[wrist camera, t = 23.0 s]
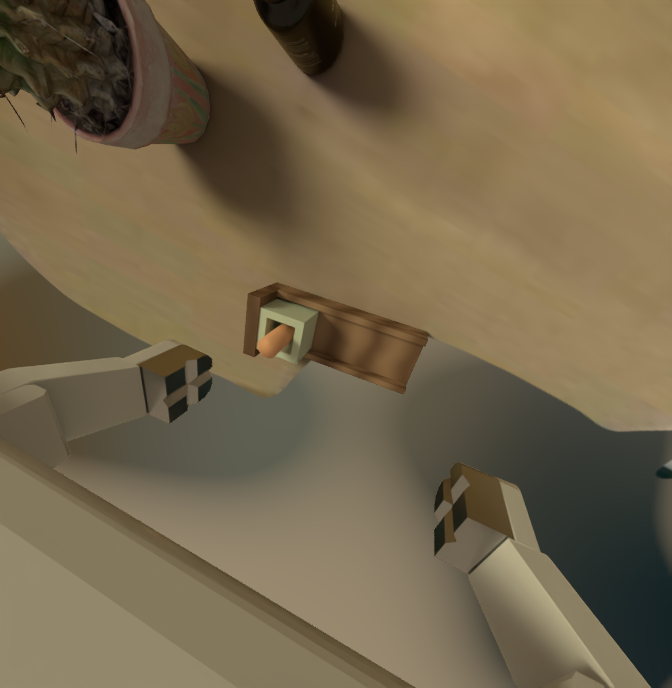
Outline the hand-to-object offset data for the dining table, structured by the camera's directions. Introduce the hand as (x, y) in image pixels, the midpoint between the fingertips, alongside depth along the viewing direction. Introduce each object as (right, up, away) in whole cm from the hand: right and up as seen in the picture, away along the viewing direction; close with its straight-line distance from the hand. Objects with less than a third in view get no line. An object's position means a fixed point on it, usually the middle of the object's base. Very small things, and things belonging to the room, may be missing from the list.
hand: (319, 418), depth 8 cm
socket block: (-6, +6, +36) cm, 37 cm away
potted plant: (-22, +38, +30) cm, 53 cm away
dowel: (-6, +6, +36) cm, 37 cm away
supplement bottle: (-2, +38, +23) cm, 45 cm away
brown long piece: (+1, +4, +37) cm, 37 cm away
